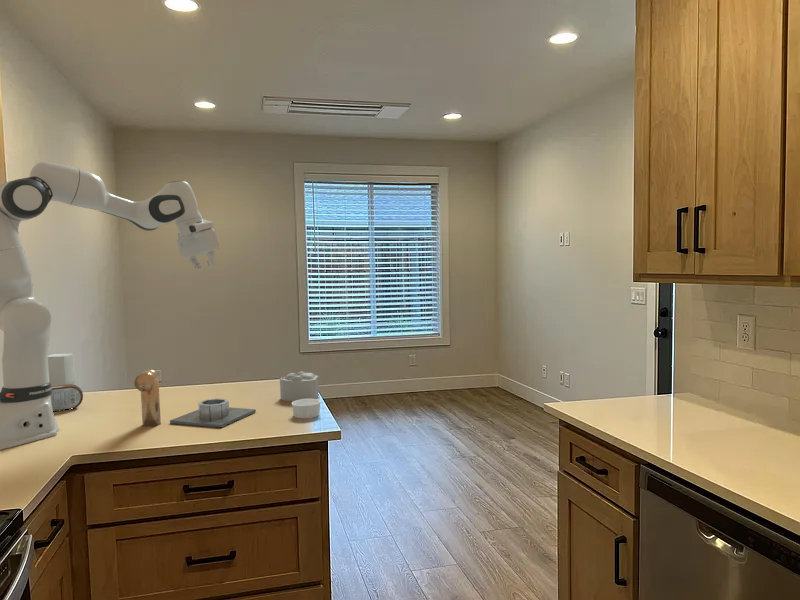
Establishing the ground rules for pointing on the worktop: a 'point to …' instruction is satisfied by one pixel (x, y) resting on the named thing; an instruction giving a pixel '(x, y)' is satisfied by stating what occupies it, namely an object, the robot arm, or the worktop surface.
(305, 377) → the lumpy-topped squat cylinder
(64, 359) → the skincare box
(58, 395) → the tin
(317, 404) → the ramekin
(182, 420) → the duct collar
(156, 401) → the wooden knob peg
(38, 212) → the robot arm
